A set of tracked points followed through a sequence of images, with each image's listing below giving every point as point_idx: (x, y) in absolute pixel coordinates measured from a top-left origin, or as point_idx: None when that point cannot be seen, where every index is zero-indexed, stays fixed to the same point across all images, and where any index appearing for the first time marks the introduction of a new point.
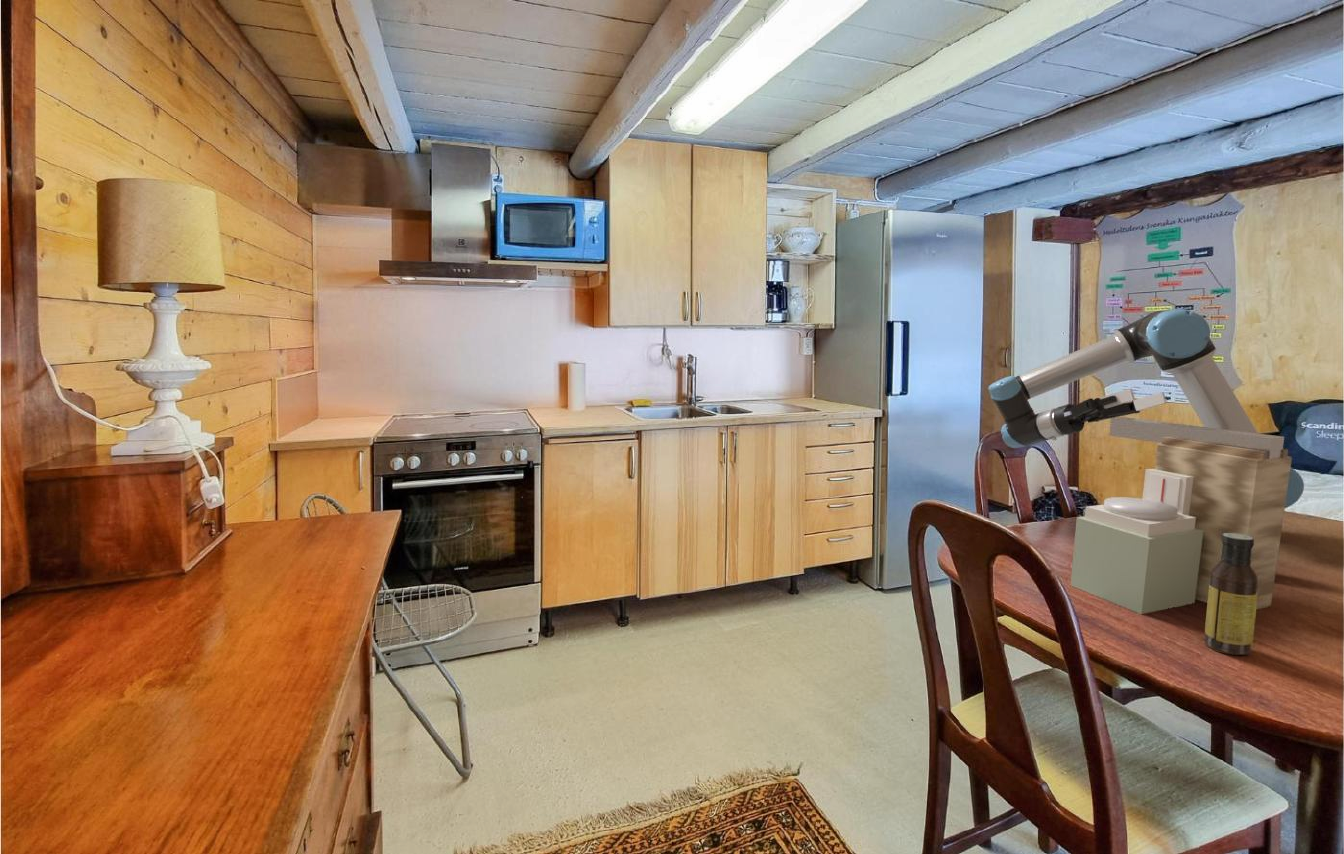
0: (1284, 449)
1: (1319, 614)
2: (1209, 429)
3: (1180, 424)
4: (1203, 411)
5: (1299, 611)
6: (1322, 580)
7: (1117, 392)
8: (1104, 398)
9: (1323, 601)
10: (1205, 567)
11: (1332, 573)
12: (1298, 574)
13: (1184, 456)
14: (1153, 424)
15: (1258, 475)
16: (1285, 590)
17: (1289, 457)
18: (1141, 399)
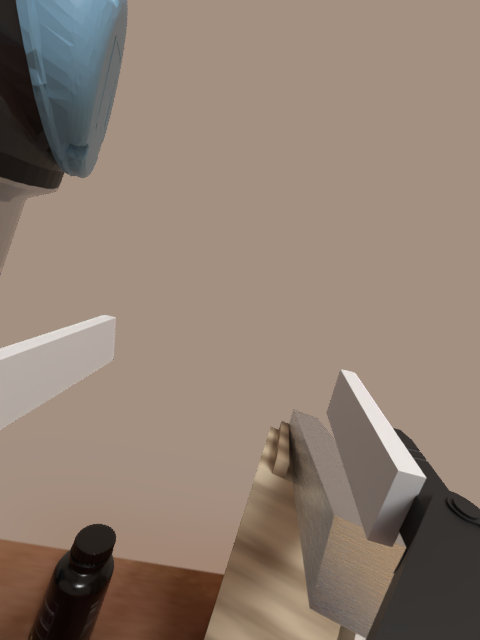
0: (283, 422)
1: (195, 579)
2: (320, 432)
3: (309, 441)
4: None
5: (201, 596)
6: (50, 556)
7: (374, 401)
8: (432, 472)
9: (145, 569)
10: None
11: (6, 541)
12: (28, 578)
13: None
14: None
15: None
16: (125, 602)
17: (274, 428)
18: (43, 352)
